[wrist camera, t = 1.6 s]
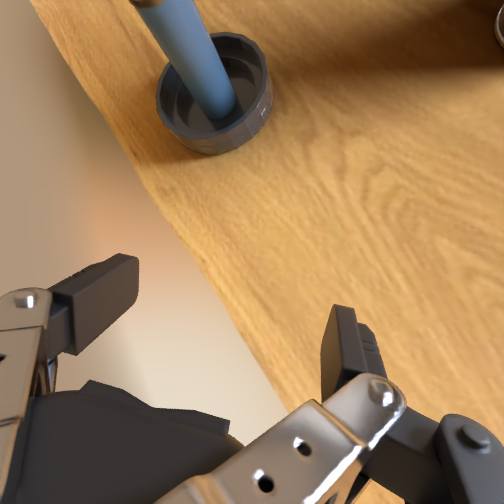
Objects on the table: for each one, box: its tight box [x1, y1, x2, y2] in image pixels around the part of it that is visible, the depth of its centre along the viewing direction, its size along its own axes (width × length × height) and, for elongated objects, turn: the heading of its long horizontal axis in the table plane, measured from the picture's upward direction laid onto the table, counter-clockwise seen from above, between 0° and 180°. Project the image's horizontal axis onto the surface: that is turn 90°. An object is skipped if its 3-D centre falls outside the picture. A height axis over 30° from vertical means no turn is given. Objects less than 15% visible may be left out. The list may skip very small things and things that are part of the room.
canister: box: [129, 0, 237, 120], centre depth 32 cm, size 5×5×16 cm
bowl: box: [155, 32, 274, 154], centre depth 38 cm, size 14×14×4 cm
